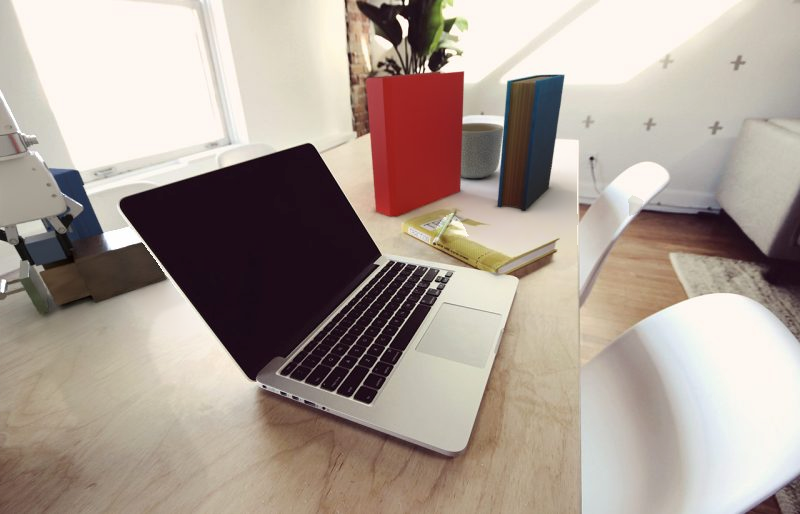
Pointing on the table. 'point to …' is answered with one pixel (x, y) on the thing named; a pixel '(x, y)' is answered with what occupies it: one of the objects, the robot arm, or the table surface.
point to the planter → (480, 149)
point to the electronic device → (74, 189)
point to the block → (44, 248)
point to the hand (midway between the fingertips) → (50, 256)
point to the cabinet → (115, 263)
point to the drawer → (49, 283)
